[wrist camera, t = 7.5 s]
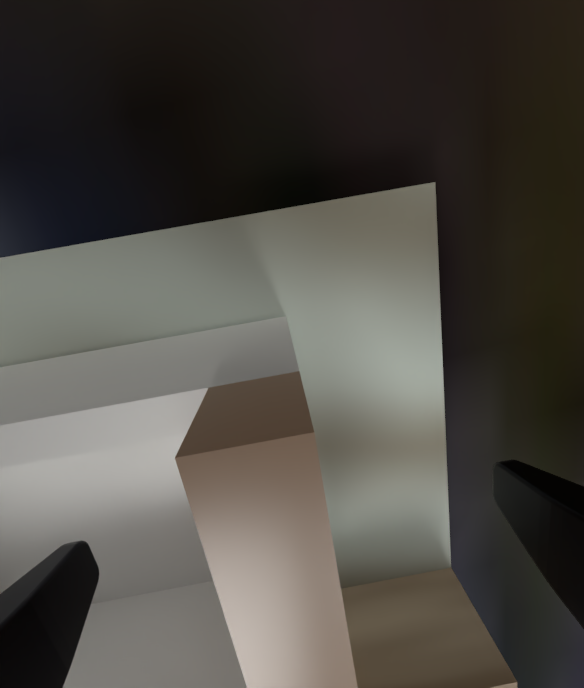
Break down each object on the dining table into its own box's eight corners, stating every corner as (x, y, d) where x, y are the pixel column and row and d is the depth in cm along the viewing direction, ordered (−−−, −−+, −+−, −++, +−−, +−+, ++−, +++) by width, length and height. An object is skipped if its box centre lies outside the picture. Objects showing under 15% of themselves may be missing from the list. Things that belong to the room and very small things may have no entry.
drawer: (328, 558, 10) (391, 886, 5) (17, 618, 10) (-267, 1023, 5) (286, 315, 8) (314, 432, 3) (-113, 387, 8) (-909, 658, 3)
